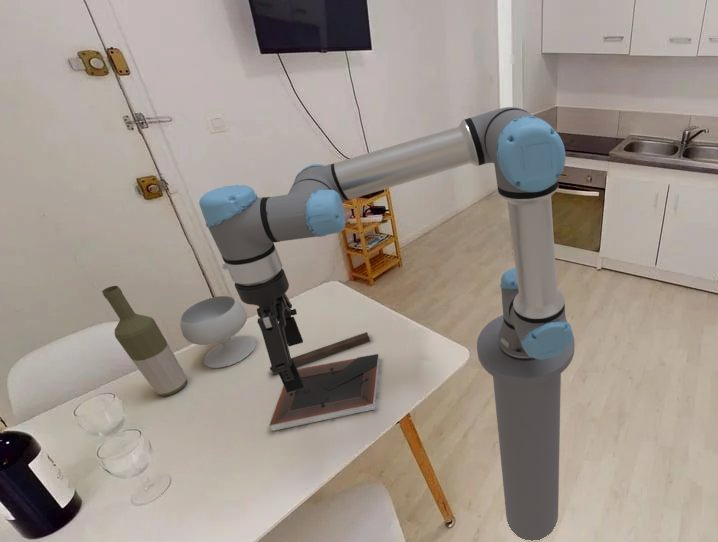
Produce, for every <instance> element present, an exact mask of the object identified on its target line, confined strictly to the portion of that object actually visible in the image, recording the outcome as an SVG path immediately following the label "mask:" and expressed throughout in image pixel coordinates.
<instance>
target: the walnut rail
mask: <svg viewBox="0 0 718 542" xmlns="http://www.w3.org/2000/svg"><path fill="white" fill-rule="evenodd" d="M369 342H371V340H370V337H369V334H368V331H366V332H363V333H361V334H357V335H354V336H351V337H348V338H345V339H343V340H339V341H337V342H334V343H331V344H328V345H325V346H321V347H319V348H317V349H313V350H311V351H308V352H305V353H302V354H299V355H297V356H294V357H291V359H293V360H294V363H295V365H296V368H299V367H302V366H305V365H307V364H310V363H313V362H316V361H320V360H321V359H325V358H327V357H330V356H333V355H335V354H338V353H341V352H344V351H347V350H350V349H353V348H355V347H359V346H361V345H364V344H367V343H369ZM270 367H272V366H271V365H270ZM271 372H272V374H273V376H276V375H279V373H273V371H271Z"/></svg>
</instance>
